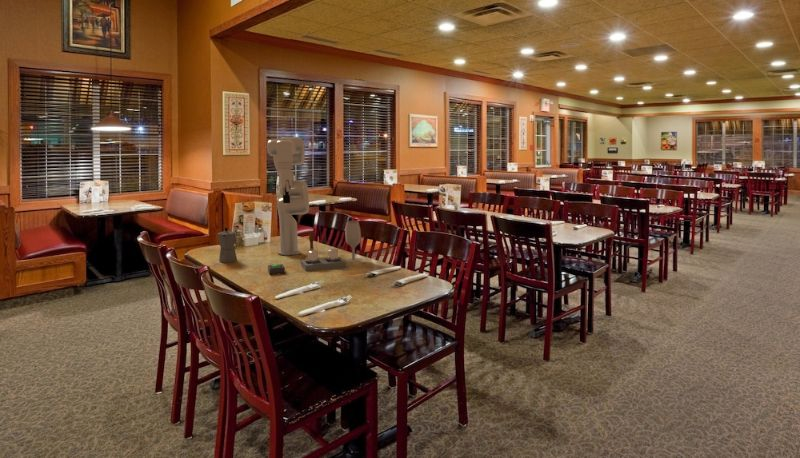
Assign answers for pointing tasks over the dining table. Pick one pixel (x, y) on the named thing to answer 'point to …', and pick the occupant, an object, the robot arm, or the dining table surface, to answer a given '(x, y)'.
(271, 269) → the button housing
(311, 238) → the hand bell
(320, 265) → the tray
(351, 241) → the wineglass
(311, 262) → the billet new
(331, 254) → the billet
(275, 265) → the button
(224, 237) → the coffeepot
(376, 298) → the dining table surface
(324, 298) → the dining table surface
